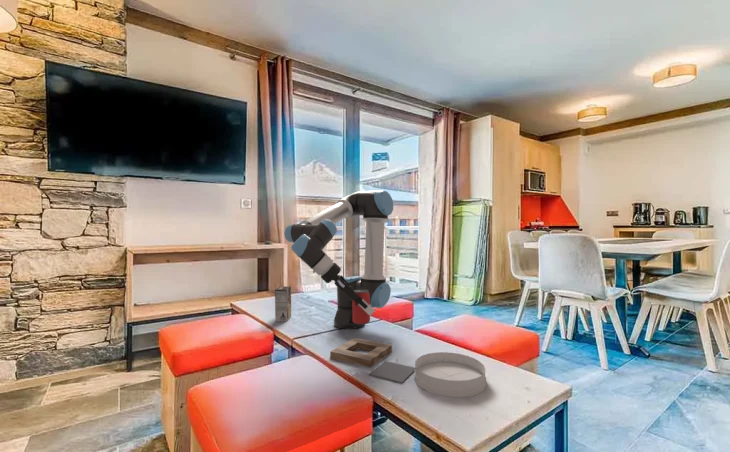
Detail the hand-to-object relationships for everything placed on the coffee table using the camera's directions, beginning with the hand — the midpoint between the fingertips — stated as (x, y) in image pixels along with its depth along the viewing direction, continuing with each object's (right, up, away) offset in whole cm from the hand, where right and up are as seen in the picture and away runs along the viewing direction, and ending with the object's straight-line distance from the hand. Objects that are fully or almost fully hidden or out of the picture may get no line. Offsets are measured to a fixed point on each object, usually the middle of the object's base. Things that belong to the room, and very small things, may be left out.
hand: (370, 310), depth 135 cm
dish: (+25, -17, -21) cm, 37 cm away
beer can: (-3, -4, 0) cm, 6 cm away
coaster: (+7, -17, -16) cm, 24 cm away
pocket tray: (-3, -17, 0) cm, 17 cm away
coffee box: (-44, -16, +49) cm, 68 cm away
